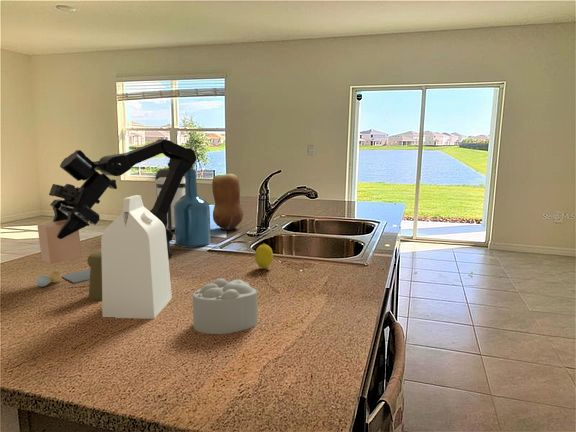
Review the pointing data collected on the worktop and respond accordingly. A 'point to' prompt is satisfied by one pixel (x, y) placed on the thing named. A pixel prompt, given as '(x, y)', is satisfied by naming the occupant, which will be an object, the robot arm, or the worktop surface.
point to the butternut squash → (227, 201)
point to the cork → (95, 276)
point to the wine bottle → (191, 216)
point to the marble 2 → (55, 277)
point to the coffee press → (180, 192)
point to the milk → (135, 264)
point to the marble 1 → (42, 281)
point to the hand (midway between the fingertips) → (53, 236)
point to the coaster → (77, 276)
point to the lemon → (263, 256)
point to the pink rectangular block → (58, 243)
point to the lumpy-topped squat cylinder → (224, 307)
